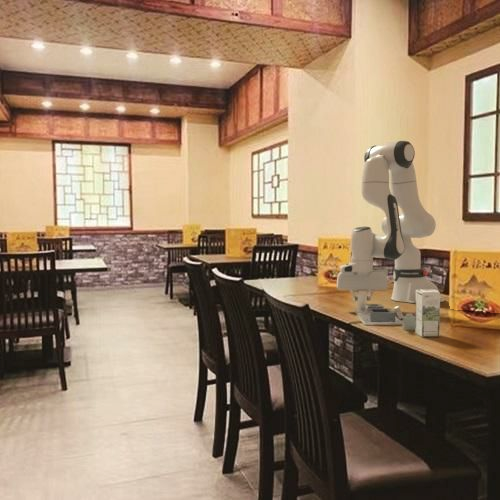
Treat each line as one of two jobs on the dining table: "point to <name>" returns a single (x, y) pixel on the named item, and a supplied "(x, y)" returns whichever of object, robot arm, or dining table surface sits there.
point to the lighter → (406, 319)
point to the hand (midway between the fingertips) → (361, 300)
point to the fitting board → (377, 315)
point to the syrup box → (427, 313)
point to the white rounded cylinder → (361, 299)
